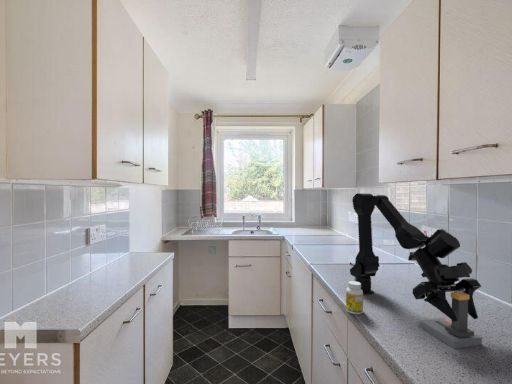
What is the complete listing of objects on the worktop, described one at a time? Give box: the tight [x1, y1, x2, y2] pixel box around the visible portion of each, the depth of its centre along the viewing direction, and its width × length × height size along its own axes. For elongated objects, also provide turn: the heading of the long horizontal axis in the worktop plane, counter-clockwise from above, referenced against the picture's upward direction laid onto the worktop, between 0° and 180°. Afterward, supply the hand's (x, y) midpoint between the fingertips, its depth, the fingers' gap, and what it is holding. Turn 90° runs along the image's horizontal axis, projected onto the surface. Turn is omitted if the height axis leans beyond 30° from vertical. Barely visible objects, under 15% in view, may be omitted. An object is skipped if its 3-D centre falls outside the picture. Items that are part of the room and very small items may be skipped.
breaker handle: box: [445, 291, 475, 337], centre depth 72 cm, size 4×5×11 cm
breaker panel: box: [419, 317, 483, 349], centre depth 75 cm, size 11×9×2 cm
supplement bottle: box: [345, 280, 364, 315], centre depth 89 cm, size 5×5×10 cm
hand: (466, 319), depth 70 cm, fingers open, 6 cm apart
